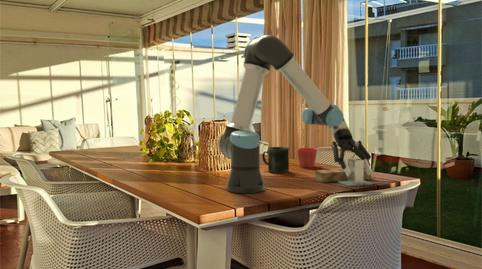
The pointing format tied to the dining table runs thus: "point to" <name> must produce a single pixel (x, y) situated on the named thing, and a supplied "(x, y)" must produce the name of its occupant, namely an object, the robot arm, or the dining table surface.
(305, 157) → the flower pot
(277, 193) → the dining table surface
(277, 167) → the mug
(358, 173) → the white rectangular block
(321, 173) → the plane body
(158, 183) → the dining table surface
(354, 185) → the mat
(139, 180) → the dining table surface
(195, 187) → the dining table surface
